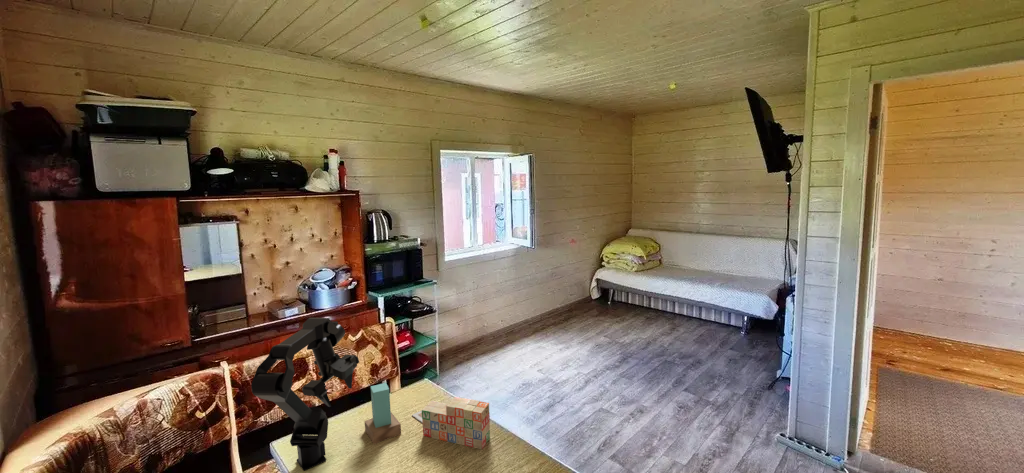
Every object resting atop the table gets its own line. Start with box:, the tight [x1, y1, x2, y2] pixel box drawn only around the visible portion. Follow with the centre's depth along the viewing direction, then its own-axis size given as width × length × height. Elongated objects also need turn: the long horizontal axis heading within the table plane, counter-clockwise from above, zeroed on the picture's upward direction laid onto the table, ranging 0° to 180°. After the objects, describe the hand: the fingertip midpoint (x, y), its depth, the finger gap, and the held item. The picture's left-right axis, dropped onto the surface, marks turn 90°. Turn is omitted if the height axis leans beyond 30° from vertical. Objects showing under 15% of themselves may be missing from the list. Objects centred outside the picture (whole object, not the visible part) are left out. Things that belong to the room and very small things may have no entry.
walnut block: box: [364, 412, 402, 445], centre depth 141 cm, size 9×9×4 cm
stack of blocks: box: [421, 396, 491, 450], centre depth 137 cm, size 21×6×12 cm, turn 69°
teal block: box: [370, 382, 392, 428], centre depth 140 cm, size 5×5×12 cm
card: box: [411, 409, 423, 424], centre depth 152 cm, size 10×7×1 cm
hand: (340, 397), depth 139 cm, fingers open, 9 cm apart
